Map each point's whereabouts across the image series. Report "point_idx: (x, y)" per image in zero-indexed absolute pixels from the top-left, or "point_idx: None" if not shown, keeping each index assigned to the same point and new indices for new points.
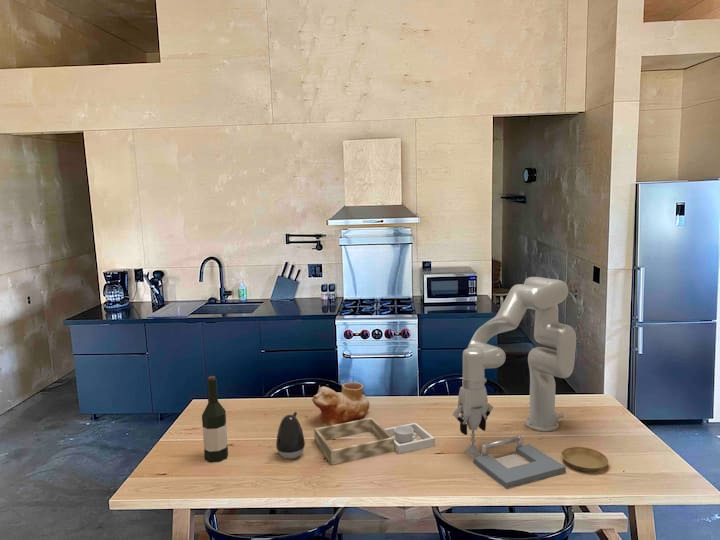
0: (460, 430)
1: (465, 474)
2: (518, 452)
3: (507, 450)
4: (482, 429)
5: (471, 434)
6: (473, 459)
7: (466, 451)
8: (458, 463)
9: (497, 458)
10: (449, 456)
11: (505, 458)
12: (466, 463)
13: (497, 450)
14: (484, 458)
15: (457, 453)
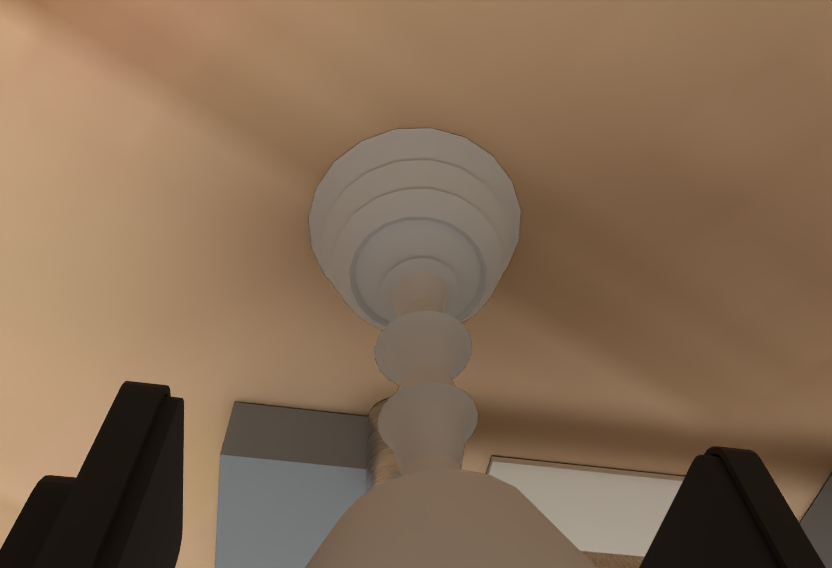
0: (43, 487)
1: (4, 511)
2: (823, 521)
3: (822, 399)
4: (653, 562)
5: (392, 429)
6: (224, 443)
7: (339, 180)
8: (49, 325)
9: (548, 472)
10: (20, 116)
11: (615, 509)
12: (150, 372)
13: (736, 343)
14: (331, 526)
15: (198, 112)
